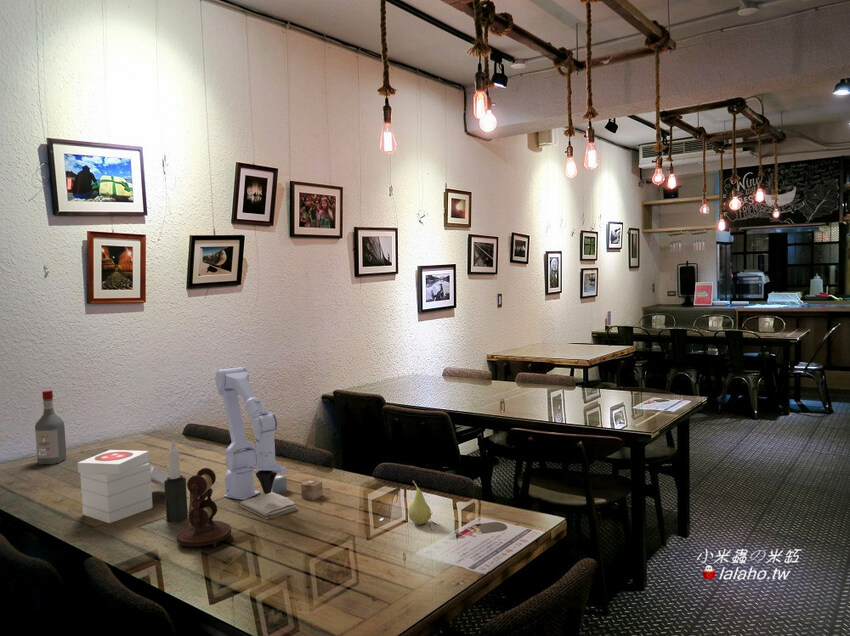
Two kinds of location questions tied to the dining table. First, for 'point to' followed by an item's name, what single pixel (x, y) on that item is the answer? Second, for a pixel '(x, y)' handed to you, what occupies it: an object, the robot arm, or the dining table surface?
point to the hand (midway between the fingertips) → (267, 492)
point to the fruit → (419, 509)
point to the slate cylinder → (279, 484)
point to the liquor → (50, 434)
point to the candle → (175, 490)
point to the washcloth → (269, 505)
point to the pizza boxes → (118, 484)
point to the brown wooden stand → (202, 513)
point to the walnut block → (311, 489)
